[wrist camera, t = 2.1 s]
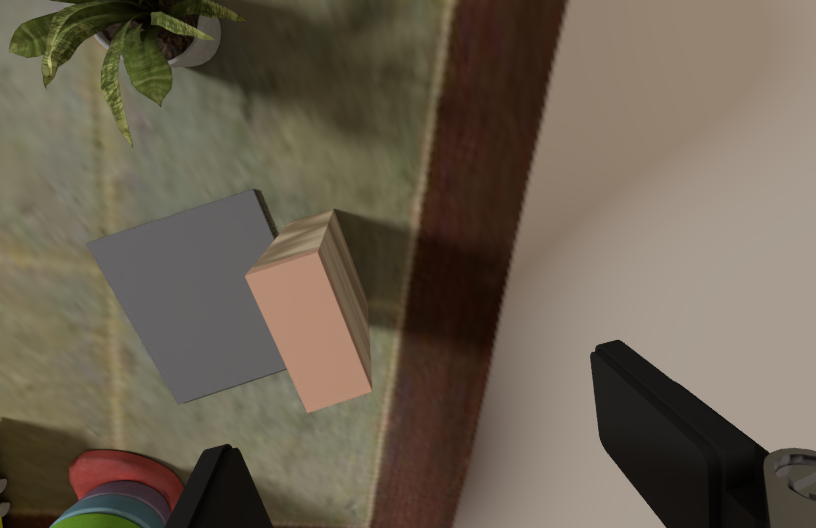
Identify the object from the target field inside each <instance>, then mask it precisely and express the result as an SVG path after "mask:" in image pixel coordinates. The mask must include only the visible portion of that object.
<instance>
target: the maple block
mask: <svg viewBox="0 0 816 528" xmlns="http://www.w3.org/2000/svg"><path fill="white" fill-rule="evenodd" d="M245 278H246V280H247V282H248V284H249V287H250V289H251V291H252V293H253V295H254V297H255V300H256V302H257V304H258V306H259V308H260V311H261V313H262V315H263V317H264V319H265V321H266V324H267V326H268V328H269V330H270V332H271V334H272V337H273V339H274V341H275V343H276V345H277V348H278V350H279V352H280V354H281V356H282V358H283V361H284V363H285V365H286V367H287V369H288V372H289V374H290V376H291V378H292V380H293V382H294V385H295V387H296V389H297V391H298V393H299V396H300V398H301V400H302V402H303V404H304V406H305V409H306V411H307V413H309V412H312V411H315V410H318V409H321V408H324V407H327V406H330V405H333V404H336V403H339V402H343V401H346V400H349V399H352V398H355V397H358V396H361V395H364V394H367V393H370V392H372V377H371V355H370V333H369V311H368V301H367V298H366V296H365V293H364V290H363V287H362V285H361V282H360V279H359V276H358V274H357V271H356V268H355V266H354V263H353V260H352V257H351V255H350V252H349V249H348V246H347V244H346V241H345V238H344V236H343V233H342V230H341V227H340V225H339V222H338V219H337V216H336V214H335V211H334V209H331V210H328V211H325V212H322V213H319V214H316V215H313V216H310V217H306V218H303V219H300V220H297V221H294V222H291V223H288V224H287V226H286V227H285V228H284V229H283V230H282V232H281V233H280V234H279V235H278V236H277V238H276V239H275V240H274V241H273V242H272V244H271V245H270V246H269V247H268V248H267V250H266V251H265V252H264V253H263V255H262V256H261V257H260V258H259V259H258V261H257V262H256V263H255V264H254V265H253V267H252V268H251V269H250V270H249V271H248V273H247V274H246V275H245Z"/></svg>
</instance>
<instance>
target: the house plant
mask: <svg viewBox="0 0 816 528" xmlns="http://www.w3.org/2000/svg"><path fill="white" fill-rule="evenodd" d="M51 1H58V2H66V3H74V4H75V5H72V6H69V7H66V8H64V9H62V10H61V11H59V12H56V13H52V14H48V15H45V16H41V17H38V18H35V19H32V20H29V21H27V22H25V23H23V24H21V25H20V26H19V27H18V29H17V30H16V31H15V33H14V35H13V37H12V39H11V43H10V47H9V52H11V53H15V54H18V55H20V56H23V57H26V58H31V57H38V56H41V55H43V54H44V56H43V60H42V74H43V82H44V86H45V88H46V86H47V85H48V84H49V83H50V82H51V81H52V80H53V79H54V77H55V74H56V71H57V69H58V67H59V66H61V65H62V64H64V63H65V62H67V61H68V60H69V59H70V58H71V57H72V55H73V54H74V52H75V50H76V49H77V47H78V46H79V45H80V44H81V43H82V42H83V41H84V40H86V39H87V38H89V37H91V36H93V35H94V36H95V38H96V39H97V41H98V42H99V43H100V44H102V45H103V46H104V47H105V48H106V49H107V50H108V52H107V54H106V57H105V60H104V63H103V67H102V71H101V89H102V91H103V94H104V96H105V99H106V101H107V103H108V105H109V107H110V109H111V110H112V113H113V115H114V118H115V120H116V122H117V125H118V127H119V129H120V131H121V132H122V134H123V135H124V136H125V137H126V139H127V140H128V141H129V142H130V144H131V145H132V149H133V144H132V139H131V135H130V132H129V128H128V124H127V120H126V116H125V112H124V109H123V105H122V100H121V95H120V88H119V81H118V64H119V60H120V59H122V60H123V61H124V64H125V67H126V70H127V72H128V74H129V76H130V79H131V83H132V85H133V86H134V87H135V88H136V89H137V90H138V91H139V92H140V93H142V94H143V95H145V96H146V97H148V98H150V99H151V100H153V101H154V102H156V103H157V104H158V105H159V106H160V107H161V104H162V101H163V99H164V98H165V96H166V95H167V94H168V92H169V91H170V89H171V88H172V80H173V78H172V71H171V68H172V67H194V66H198V65H202V64H204V63H205V62H207V61H209V60H210V59H211V58H212V57H213V56H214V54H215V53H216V51H217V49H218V47H219V45H220V39H221V28H220V22H219V19H218V18H226V19H229V20H233V21H237V22H238V21H248V20H246V19H245V18H243V17H242V16H240V15H238V14H237V13H235V12H233V11H232V10H230V9H228V8H226V7H224V6H222V5H220V4H218V3H216V2H213V1H211V0H51ZM248 22H249V21H248ZM249 23H250V22H249Z"/></svg>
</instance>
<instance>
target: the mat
mask: <svg viewBox="0 0 816 528" xmlns="http://www.w3.org/2000/svg"><path fill="white" fill-rule="evenodd" d="M274 240H275V237H274V235H273V232H272V230H271V228H270V225H269V223H268V221H267V218H266V216H265V213H264V211H263V209H262V206H261V204H260V202H259V199H258V197H257V194H256V192H255V190H254V189H252V190H249V191H246V192H243V193H240V194H237V195H234V196H231V197H228V198H225V199H222V200H219V201H215V202H212V203H209V204H206V205H203V206H200V207H197V208H194V209H191V210H188V211H185V212H181V213H178V214H175V215H172V216H169V217H166V218H163V219H160V220H157V221H154V222H151V223H147V224H144V225H141V226H138V227H135V228H132V229H129V230H126V231H123V232H120V233H117V234H114V235H110V236H107V237H104V238H101V239H98V240H95V241H92V242H89V243H86V245H87V247H88V248H89V250H90V252H91V254H92V255H93V257H94V259H95V261H96V262H97V264H98V266H99V268H100V269H101V271H102V273H103V275H104V276H105V278H106V280H107V282H108V283H109V285H110V287H111V289H112V290H113V292H114V294H115V296H116V297H117V299H118V301H119V303H120V304H121V306H122V308H123V310H124V311H125V313H126V315H127V317H128V318H129V320H130V322H131V324H132V325H133V327H134V329H135V331H136V332H137V334H138V336H139V338H140V339H141V341H142V343H143V345H144V346H145V348H146V350H147V352H148V353H149V355H150V357H151V359H152V360H153V362H154V364H155V366H156V367H157V369H158V371H159V372H160V374H161V376H162V378H163V379H164V381H165V383H166V385H167V386H168V388H169V390H170V392H171V393H172V395H173V397H174V399H175V400H176V402H177V404H181V403H184V402H187V401H190V400H193V399H196V398H199V397H202V396H205V395H208V394H211V393H214V392H217V391H221V390H224V389H227V388H230V387H233V386H236V385H239V384H242V383H245V382H248V381H251V380H254V379H257V378H260V377H263V376H266V375H269V374H272V373H275V372H278V371H281V370H284V369H287V367H286V365H285V363H284V361H283V358H282V356H281V354H280V352H279V350H278V348H277V345H276V343H275V341H274V339H273V337H272V334H271V332H270V330H269V328H268V326H267V324H266V321H265V319H264V317H263V315H262V313H261V311H260V308H259V306H258V304H257V302H256V300H255V297H254V295H253V293H252V291H251V289H250V287H249V284H248V282H247V280H246V278H245V275H246V274H247V273H248V271H249V270H250V269H251V268H252V267H253V265H254V264H255V263H256V262H257V261H258V259H259V258H260V257H261V256H262V255H263V253H264V252H265V251H266V250H267V248H268V247H269V246H270V245H271V244H272V242H273V241H274Z"/></svg>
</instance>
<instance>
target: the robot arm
mask: <svg viewBox="0 0 816 528" xmlns="http://www.w3.org/2000/svg"><path fill="white" fill-rule="evenodd" d="M590 359H591V369H592V377H593V386H594V395H595V404H596V413H597V421H598V430H599V437H600V440H601V443H602V445H603V447H604V449H605V450H606V452H607V453H608V454H609V455H610V457H611V458H612V459H613V461H614V462H615V463H616V464H617V465H618V467H619V468H620V469H621V471H622V472H623V473H624V474H625V476H626V477H627V478H628V479H629V481H630V482H631V483H632V485H633V486H634V487H635V488H636V490H637V491H638V492H639V493H640V495H641V496H642V497H643V499H644V500H645V501H646V502H647V504H648V505H649V506H650V507H651V509H652V510H653V511H654V513H655V514H656V515H657V516H658V517H659V519H660V520H661V521H662V523H663V524H664V525H665V526H666V528H816V451H813V450H809V449H799V448H787V449H780V450H777V451H774V452H771V453H769V452H768V451H767V450H765V449H764V448H763V447H761V446H760V445H759V444H757V443H756V442H755V441H753V440H752V439H751V438H750V437H748V436H747V435H746V434H744V433H743V432H742V431H740V430H739V429H738V428H736V427H735V426H734V425H733V424H731V423H730V422H728V421H727V420H726V419H724V418H723V417H722V416H721V415H719V414H718V413H717V412H715V411H714V410H713V409H712V408H710V407H709V406H708V405H706V404H705V403H704V402H702V401H701V400H700V399H698V398H697V397H696V396H695V395H693V394H692V393H690V392H689V391H688V390H687V389H685V388H684V387H683V386H682V385H680V384H678V383H677V382H675V381H673V380H672V379H670V378H669V377H668V376H666V375H665V374H664V373H662V372H661V371H660V370H659V369H657V368H656V367H654V366H653V365H652V364H651V363H649V362H648V361H647V360H645V359H644V358H643V357H642V356H640V355H639V354H638V353H636V352H635V351H634V350H632V349H631V348H630V347H629V346H627V345H626V344H625V343H623V342H622V341H620V340H615V341H611V342H607V343H603V344H599V345H597V346H596V348H595V352H592V353H591V355H590ZM164 528H273V526H272V524H271V521H270V519H269V517H268V514H267V512H266V510H265V507H264V505H263V503H262V500H261V498H260V496H259V494H258V491H257V489H256V487H255V484H254V482H253V480H252V477H251V475H250V473H249V470H248V468H247V466H246V463H245V461H244V459H243V457H242V454H241V452H240V450H239V449H238V448H232V446H231V445H229V444H225V445H221V446H217V447H214V448H210V449H206V450H204V451H203V453H202V454H201V456H200V458H199V460H198V462H197V464H196V466H195V468H194V470H193V472H192V474H191V476H190V478H189V480H188V482H187V484H186V486H185V488H184V490H183V492H182V493H181V495H180V497H179V499H178V501H177V503H176V505H175V507H174V509H173V511H172V513H171V515H170V517H169V519H168V521H167V523H166V525H165V527H164Z"/></svg>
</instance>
